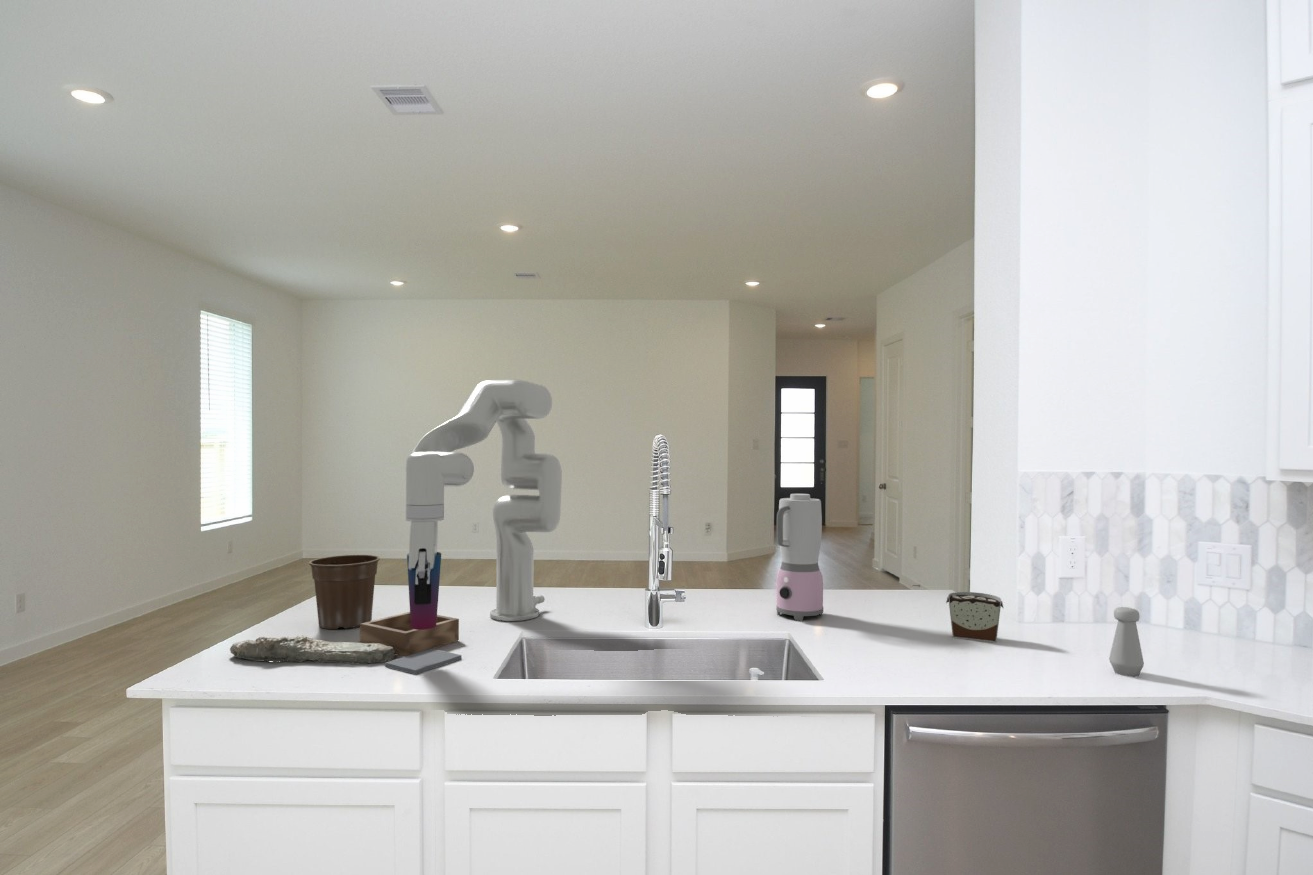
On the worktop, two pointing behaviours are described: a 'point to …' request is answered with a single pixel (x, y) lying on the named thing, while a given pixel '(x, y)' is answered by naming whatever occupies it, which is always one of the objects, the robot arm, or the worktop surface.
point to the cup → (424, 613)
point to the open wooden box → (409, 633)
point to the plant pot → (344, 589)
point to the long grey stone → (311, 650)
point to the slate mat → (423, 661)
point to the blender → (799, 556)
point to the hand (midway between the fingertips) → (424, 599)
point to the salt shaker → (1126, 643)
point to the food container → (974, 615)
